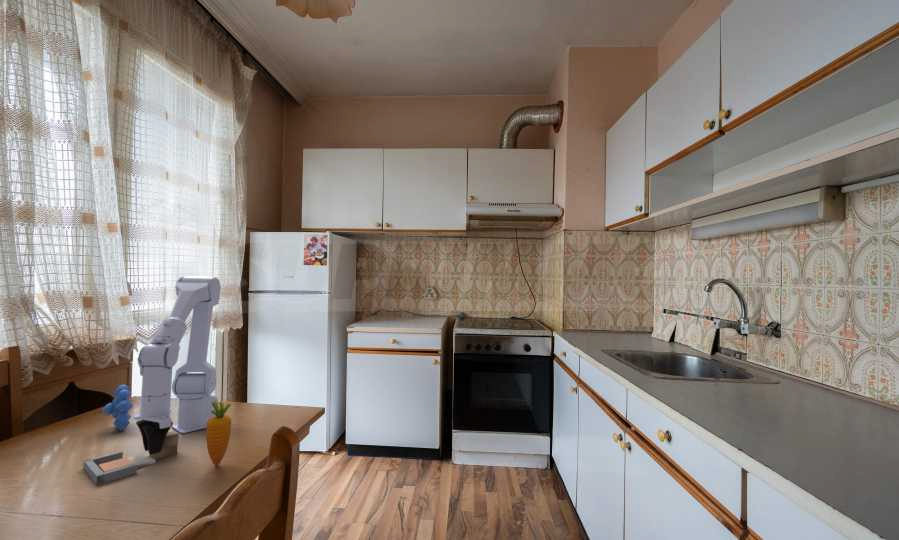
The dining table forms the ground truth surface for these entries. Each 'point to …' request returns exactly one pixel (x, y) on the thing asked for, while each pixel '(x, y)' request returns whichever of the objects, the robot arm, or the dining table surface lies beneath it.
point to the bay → (101, 477)
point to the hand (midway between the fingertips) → (152, 451)
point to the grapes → (120, 407)
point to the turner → (167, 450)
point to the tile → (115, 464)
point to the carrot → (218, 433)
